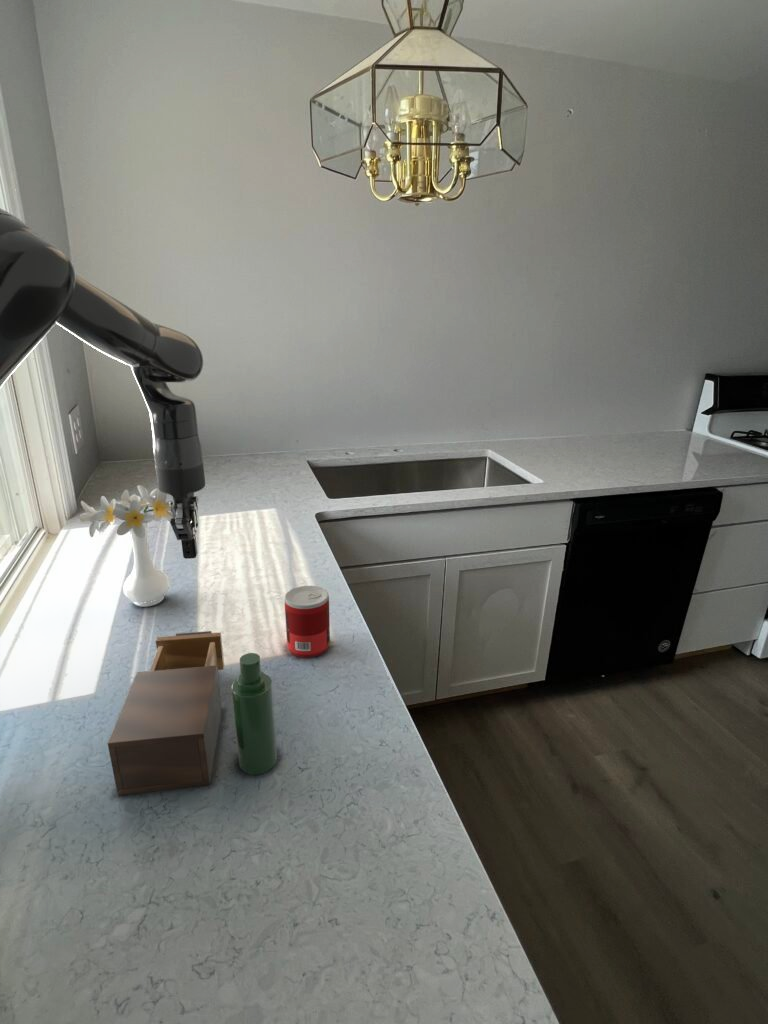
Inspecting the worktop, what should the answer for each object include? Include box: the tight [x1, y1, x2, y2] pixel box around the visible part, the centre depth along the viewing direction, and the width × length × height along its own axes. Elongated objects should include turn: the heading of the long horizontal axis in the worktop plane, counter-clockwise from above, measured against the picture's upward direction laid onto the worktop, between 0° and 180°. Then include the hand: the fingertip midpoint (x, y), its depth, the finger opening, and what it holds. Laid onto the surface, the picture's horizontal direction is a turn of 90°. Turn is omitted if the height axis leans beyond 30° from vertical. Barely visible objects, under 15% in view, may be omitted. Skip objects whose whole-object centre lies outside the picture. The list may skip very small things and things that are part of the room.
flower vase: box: [79, 484, 173, 608], centre depth 115 cm, size 13×18×25 cm
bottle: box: [231, 652, 278, 776], centre depth 75 cm, size 5×5×17 cm
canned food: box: [284, 585, 331, 659], centre depth 102 cm, size 8×8×11 cm
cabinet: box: [107, 666, 223, 796], centre depth 79 cm, size 15×12×9 cm
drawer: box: [148, 630, 225, 674], centre depth 91 cm, size 18×10×7 cm, turn 9°
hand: (190, 556), depth 98 cm, fingers closed
